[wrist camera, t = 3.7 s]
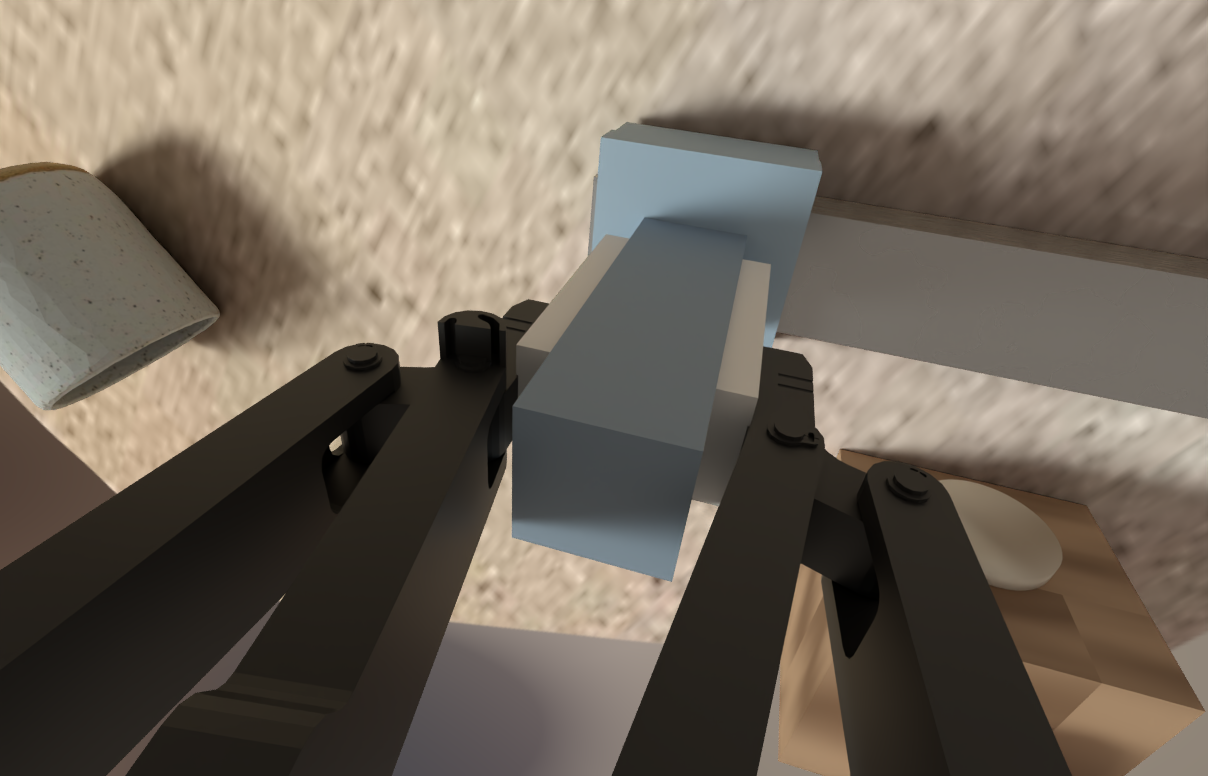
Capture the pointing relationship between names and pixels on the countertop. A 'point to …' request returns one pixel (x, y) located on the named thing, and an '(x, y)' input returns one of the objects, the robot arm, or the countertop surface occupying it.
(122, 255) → the ceramic mug
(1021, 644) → the wooden box
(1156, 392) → the rail
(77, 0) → the countertop surface
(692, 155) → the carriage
